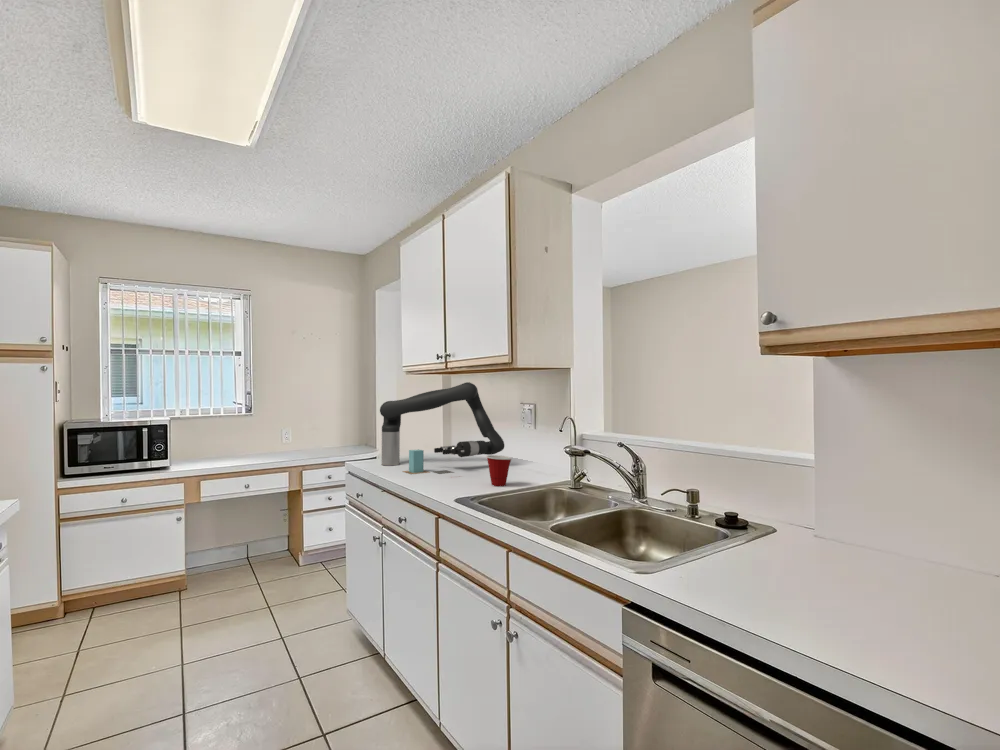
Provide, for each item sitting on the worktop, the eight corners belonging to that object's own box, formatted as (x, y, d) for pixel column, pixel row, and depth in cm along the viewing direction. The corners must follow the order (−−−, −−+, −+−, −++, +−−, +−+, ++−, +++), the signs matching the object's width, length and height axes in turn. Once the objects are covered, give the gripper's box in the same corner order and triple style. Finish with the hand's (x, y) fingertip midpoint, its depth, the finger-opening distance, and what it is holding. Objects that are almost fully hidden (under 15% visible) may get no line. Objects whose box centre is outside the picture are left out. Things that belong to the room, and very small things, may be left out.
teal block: (408, 471, 242) (409, 450, 243) (418, 470, 245) (418, 449, 246) (413, 473, 238) (413, 451, 239) (423, 472, 241) (423, 450, 241)
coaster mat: (431, 473, 242) (431, 471, 242) (446, 472, 247) (446, 470, 247) (439, 476, 236) (439, 473, 236) (454, 474, 240) (454, 472, 240)
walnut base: (401, 473, 243) (401, 462, 243) (421, 471, 249) (421, 461, 249) (410, 476, 235) (410, 465, 235) (430, 474, 241) (430, 463, 241)
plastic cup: (516, 486, 210) (516, 457, 211) (490, 488, 207) (490, 458, 207) (507, 482, 221) (507, 453, 221) (482, 483, 217) (482, 454, 218)
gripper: (460, 440, 264) (431, 442, 255) (475, 442, 252) (445, 444, 243) (460, 454, 264) (431, 457, 254) (475, 457, 252) (445, 460, 243)
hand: (438, 451), depth 249 cm, fingers open, 8 cm apart
